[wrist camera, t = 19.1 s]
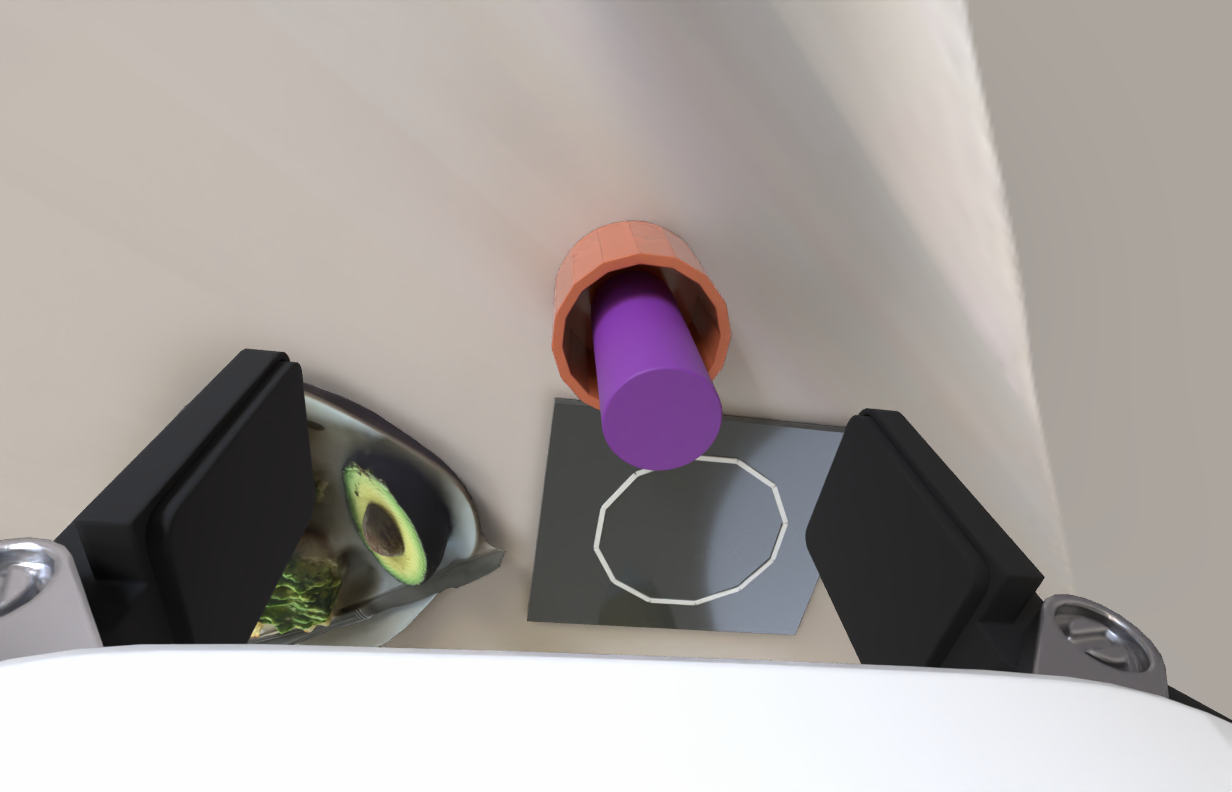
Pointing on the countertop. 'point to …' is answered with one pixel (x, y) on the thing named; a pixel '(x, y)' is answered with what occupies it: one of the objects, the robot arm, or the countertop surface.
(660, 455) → the cylinder
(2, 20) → the countertop surface
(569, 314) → the pen pot
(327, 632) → the salad plate
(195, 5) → the countertop surface
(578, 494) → the slate board
